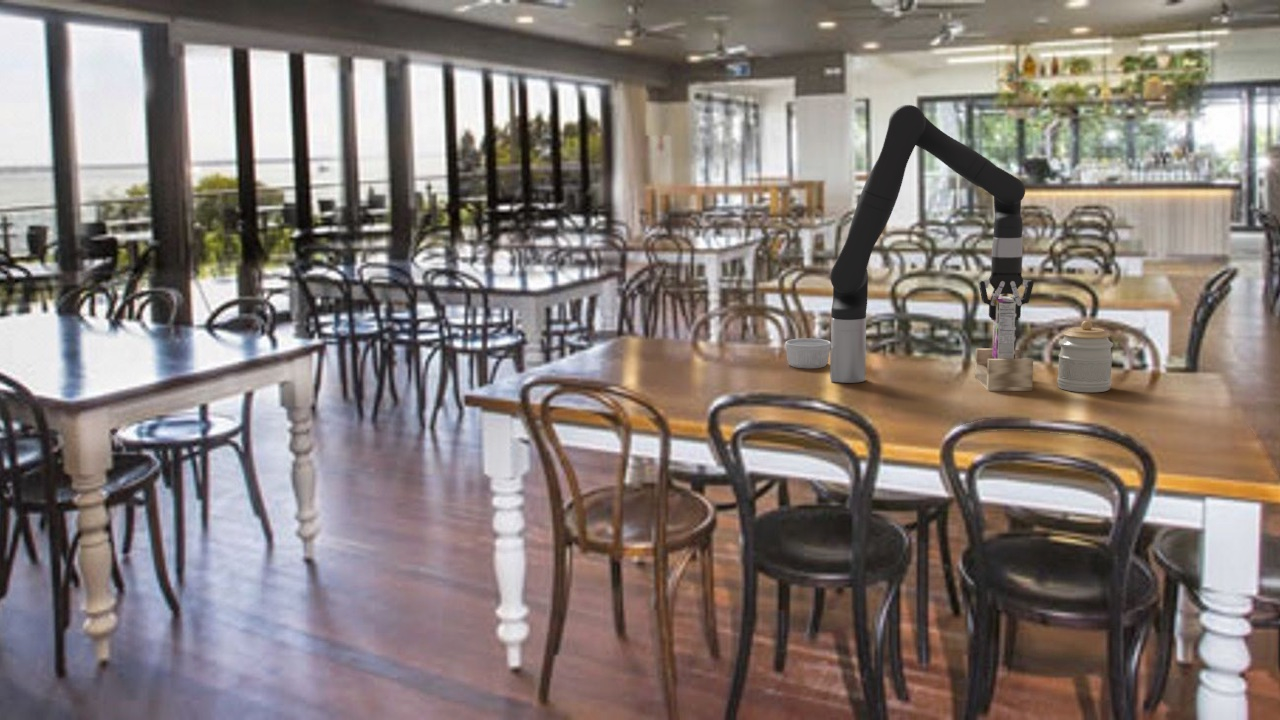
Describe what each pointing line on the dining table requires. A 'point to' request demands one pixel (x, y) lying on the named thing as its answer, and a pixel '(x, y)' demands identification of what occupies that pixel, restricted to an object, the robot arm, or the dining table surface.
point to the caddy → (1003, 371)
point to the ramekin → (807, 352)
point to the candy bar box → (1004, 328)
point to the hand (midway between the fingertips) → (1004, 319)
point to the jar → (1085, 359)
